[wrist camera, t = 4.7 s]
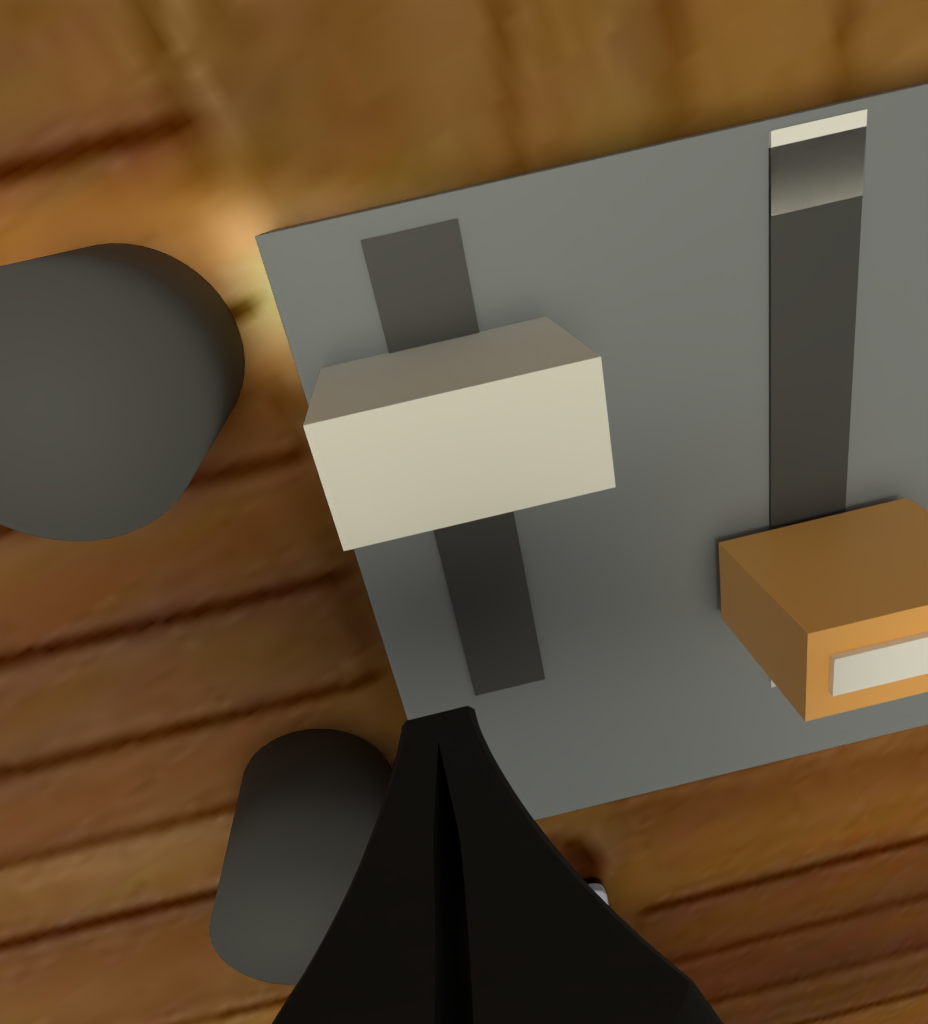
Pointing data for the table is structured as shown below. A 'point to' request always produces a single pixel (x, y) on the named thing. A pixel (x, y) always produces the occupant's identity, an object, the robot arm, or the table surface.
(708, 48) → the table surface
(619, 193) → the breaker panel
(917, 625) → the breaker paddle
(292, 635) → the table surface
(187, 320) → the squat charcoal cylinder
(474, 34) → the table surface
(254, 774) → the dark grey cylinder
